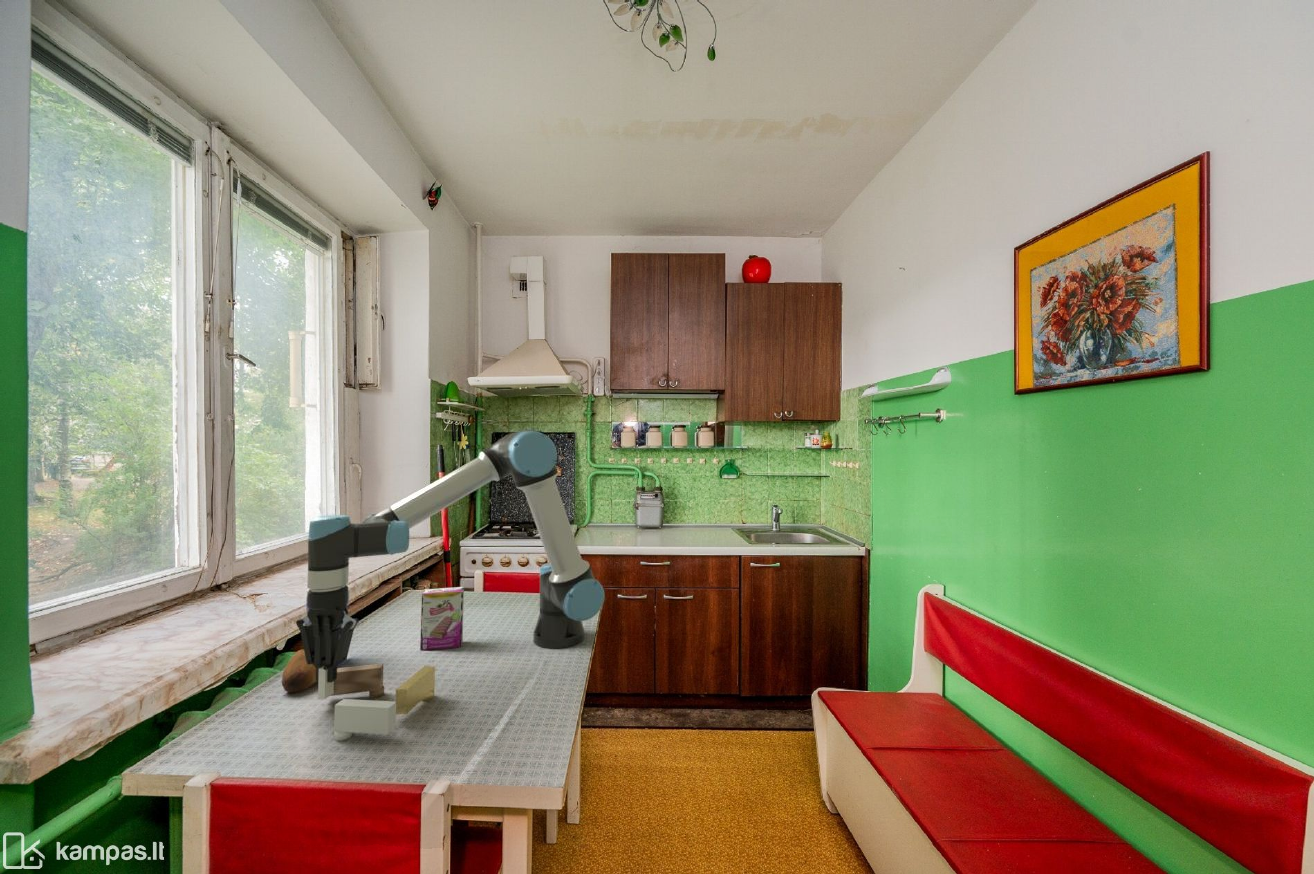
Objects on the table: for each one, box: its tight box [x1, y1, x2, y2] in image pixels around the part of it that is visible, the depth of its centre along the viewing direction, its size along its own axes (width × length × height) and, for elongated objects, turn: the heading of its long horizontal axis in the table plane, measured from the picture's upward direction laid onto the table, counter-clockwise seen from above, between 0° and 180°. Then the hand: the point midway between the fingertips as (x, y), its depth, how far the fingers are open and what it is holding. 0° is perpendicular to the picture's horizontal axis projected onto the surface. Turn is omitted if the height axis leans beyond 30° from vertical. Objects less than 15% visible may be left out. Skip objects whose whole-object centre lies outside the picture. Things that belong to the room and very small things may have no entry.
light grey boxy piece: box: [333, 698, 397, 742], centre depth 97 cm, size 12×3×7 cm, turn 85°
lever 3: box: [394, 665, 436, 715], centre depth 109 cm, size 12×3×7 cm, turn 175°
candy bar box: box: [419, 586, 465, 652], centre depth 145 cm, size 11×5×16 cm, turn 108°
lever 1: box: [330, 663, 385, 699], centre depth 113 cm, size 12×3×7 cm, turn 107°
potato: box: [281, 648, 317, 694], centre depth 120 cm, size 8×14×8 cm
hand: (325, 696), depth 109 cm, fingers closed
